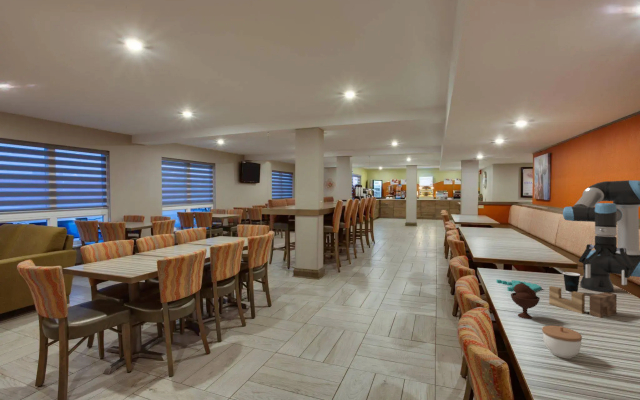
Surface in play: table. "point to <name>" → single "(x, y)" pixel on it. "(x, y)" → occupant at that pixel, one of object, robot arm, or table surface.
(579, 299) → the oak board
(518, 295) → the ice cream bowl
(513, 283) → the alien figure
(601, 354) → the table surface
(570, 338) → the lidded jar
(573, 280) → the dixie cup
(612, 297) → the walnut plate
